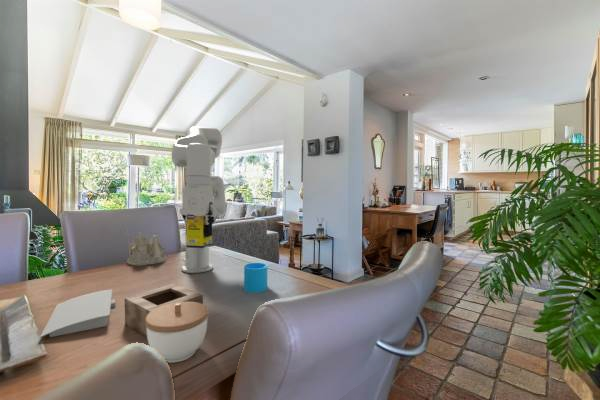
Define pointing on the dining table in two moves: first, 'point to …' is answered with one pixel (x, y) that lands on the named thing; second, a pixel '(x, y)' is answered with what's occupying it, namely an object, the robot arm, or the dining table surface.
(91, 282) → the dining table surface
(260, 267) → the mug
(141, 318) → the drop box
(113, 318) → the dining table surface
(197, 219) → the supplement box
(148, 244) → the sand castle
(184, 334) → the lidded bowl
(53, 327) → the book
